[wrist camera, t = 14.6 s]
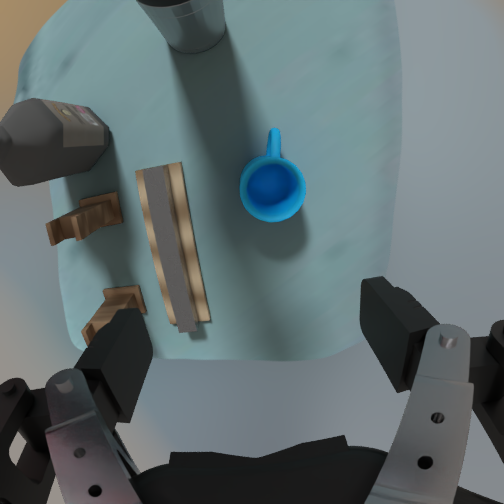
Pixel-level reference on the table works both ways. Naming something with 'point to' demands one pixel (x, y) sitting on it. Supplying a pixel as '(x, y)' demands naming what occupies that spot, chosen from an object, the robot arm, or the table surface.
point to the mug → (272, 184)
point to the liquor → (49, 141)
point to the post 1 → (86, 218)
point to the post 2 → (113, 308)
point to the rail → (170, 247)
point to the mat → (186, 240)
